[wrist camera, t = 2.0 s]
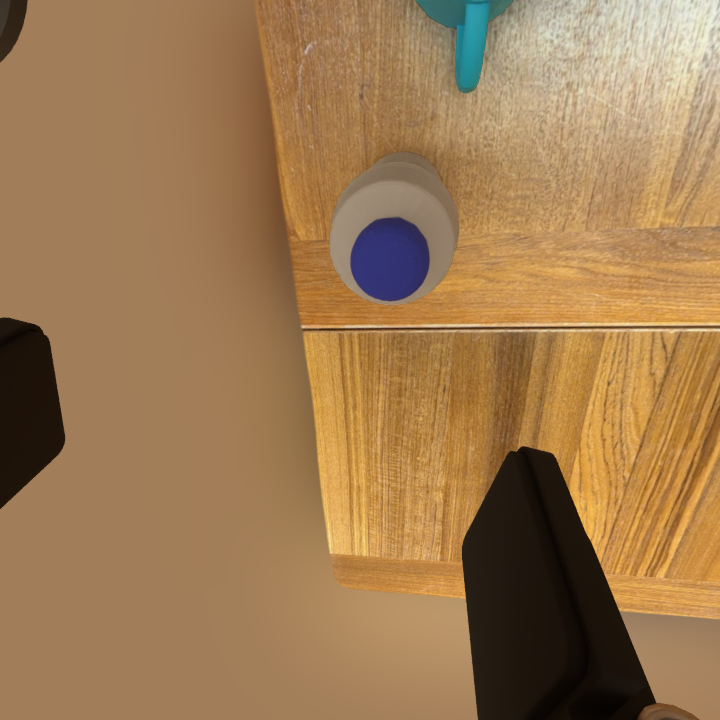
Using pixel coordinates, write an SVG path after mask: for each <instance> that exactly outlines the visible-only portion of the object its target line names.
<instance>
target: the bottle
mask: <svg viewBox="0 0 720 720" xmlns="http://www.w3.org/2000/svg"><path fill="white" fill-rule="evenodd" d="M458 237H459V218H458V213H457V209H456V205H455V203H454V201H453V198H452V196H451V195H450V193H449V192H448V190H447V189H446V187H445V186H444V185H443V183H442V179H441V177H440V175H439V173H438V172H437V170H436V169H435V167H434V166H433V165H432V164H431V163H430V162H429V161H428V160H427V159H426V158H424V157H422V156H420V155H417V154H414V153H410V152H395V153H391V154H388V155H386V156H384V157H383V158H381V159H380V160H378V161H377V162H376V163H375V164H374V165H372V167H371V168H370V169H369V170H367V171H365V172H363V173H362V174H360V175H359V176H357V177H356V178H355V179H353V180H352V181H351V182H350V184H349V185H348V186H347V187H346V188H345V189H344V191H343V192H342V194H341V195H340V197H339V199H338V201H337V203H336V206H335V209H334V212H333V217H332V225H331V231H330V241H329V245H330V254H331V259H332V262H333V264H334V267H335V269H336V272H337V273H338V275H339V276H340V278H341V279H342V281H343V282H344V283H345V285H346V286H347V287H348V288H349V289H350V290H352V291H353V292H354V293H356V294H357V295H358V296H360V297H362V298H364V299H366V300H368V301H371V302H374V303H377V304H383V305H402V304H406V303H410V302H414V301H416V300H418V299H420V298H422V297H424V296H425V295H427V294H428V293H430V292H431V291H432V290H433V289H434V288H436V287H437V286H438V285H439V283H440V282H441V281H442V280H443V278H444V277H445V275H446V273H447V272H448V270H449V267H450V265H451V262H452V260H453V256H454V252H455V249H456V246H457V242H458Z"/></svg>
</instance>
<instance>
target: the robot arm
mask: <svg viewBox="0 0 720 720" xmlns="http://www.w3.org/2000/svg"><path fill="white" fill-rule="evenodd" d="M64 443H65V433H64V427H63V421H62V414H61V408H60V403H59V396H58V390H57V384H56V378H55V371H54V365H53V359H52V353H51V346H50V341H49V339H48V337H47V336H46V335H44V333H43V331H42V330H41V328H40V327H39V326H37V325H35V324H31V323H27V322H23V321H19V320H15V319H11V318H0V509H1V508H2V507H3V506H4V505H5V504H6V503H7V502H8V501H9V500H10V499H12V498H13V497H14V496H15V495H16V494H17V493H18V492H19V491H20V490H21V489H22V488H23V487H24V486H25V485H27V484H28V483H29V482H30V481H31V480H32V479H33V478H34V477H35V476H36V475H37V474H38V473H39V472H40V471H41V470H42V469H44V467H46V466H47V465H48V464H49V463H50V462H51V461H52V460H53V459H54V458H55V457H56V456H57V455H58V454H59V453H60V452H61V450H62V448H63V446H64ZM462 562H463V572H464V582H465V593H466V603H467V612H468V623H469V633H470V643H471V654H472V664H473V674H474V684H475V694H476V704H477V715H478V720H699V719H698V718H697V717H695V716H694V715H693V714H691V713H689V712H687V711H685V710H683V709H680V708H678V707H676V706H674V705H668V704H662V703H656V701H655V698H654V696H653V693H652V691H651V689H650V686H649V683H648V681H647V679H646V676H645V674H644V671H643V669H642V666H641V664H640V661H639V659H638V657H637V654H636V651H635V649H634V646H633V644H632V642H631V639H630V637H629V634H628V632H627V629H626V627H625V624H624V622H623V620H622V617H621V614H620V612H619V609H618V607H617V605H616V602H615V600H614V597H613V595H612V592H611V590H610V587H609V585H608V582H607V580H606V577H605V575H604V572H603V570H602V568H601V565H600V563H599V560H598V558H597V555H596V553H595V550H594V548H593V545H592V543H591V541H590V539H589V538H588V536H587V535H586V532H585V530H584V527H583V525H582V522H581V520H580V517H579V515H578V512H577V510H576V507H575V505H574V502H573V500H572V497H571V495H570V492H569V490H568V487H567V485H566V482H565V480H564V477H563V475H562V472H561V470H560V467H559V465H558V462H557V460H556V458H555V456H554V455H553V454H552V453H549V452H545V451H541V450H537V449H533V448H529V447H525V446H523V447H521V448H519V449H518V451H517V452H515V451H510V452H509V453H508V454H507V456H506V458H505V460H504V462H503V464H502V466H501V468H500V469H499V471H498V473H497V475H496V477H495V479H494V481H493V483H492V485H491V487H490V489H489V491H488V493H487V495H486V497H485V499H484V500H483V502H482V504H481V506H480V508H479V510H478V512H477V514H476V516H475V518H474V520H473V522H472V524H471V526H470V528H469V530H468V531H467V533H466V535H465V538H464V541H463V545H462Z"/></svg>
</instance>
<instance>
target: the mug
mask: <svg viewBox="0 0 720 720" xmlns="http://www.w3.org/2000/svg"><path fill="white" fill-rule="evenodd" d="M512 1H513V0H416V2H417V3H418V4H419V5H420V6H421V8H422V9H423V10H424V11H425V12H426V14H427V15H428V16H429V17H430V18H432V19H433V20H435V21H437V22H439V23H440V24H442V25H444V26H446V27H451V28H457V38H456V84H457V87H458V89H459V91H461V92H463V93H470V92H472V91H473V90H475V88H476V87H477V84H478V82H479V79H480V74H481V69H482V64H483V57H484V51H485V43H486V35H487V26H488V22H489V21H490V20H492V19H493V18H495V17H496V16H498V15H499V14H501V13H502V12H504V11H505V9H506V8H507V7H508V6H509V5H510V4H511V2H512Z"/></svg>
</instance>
